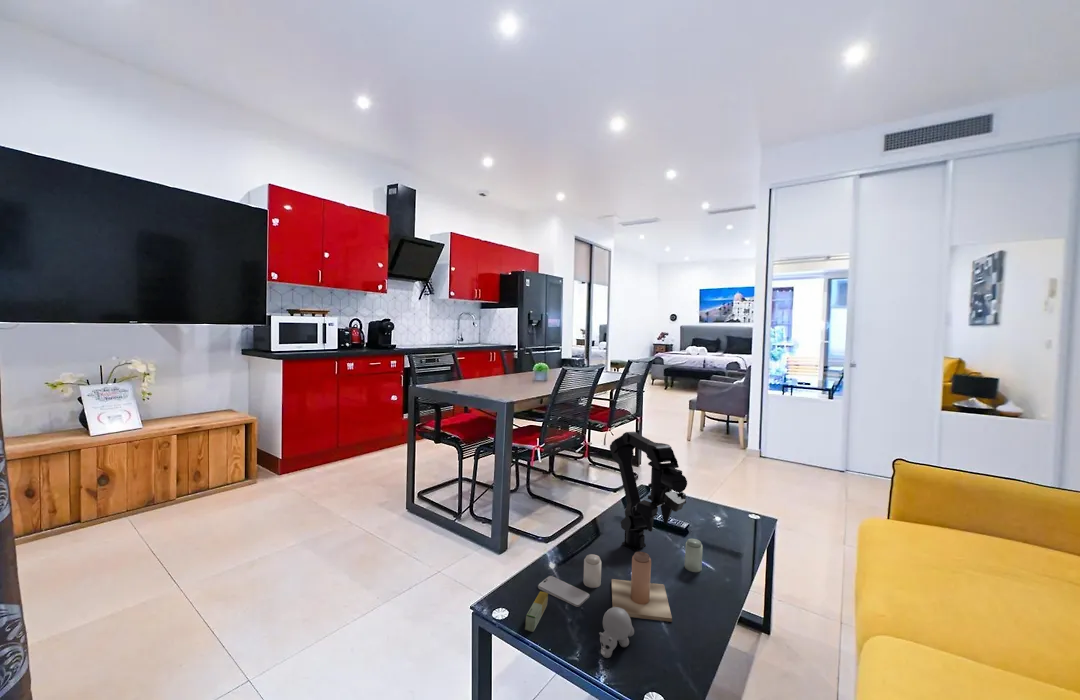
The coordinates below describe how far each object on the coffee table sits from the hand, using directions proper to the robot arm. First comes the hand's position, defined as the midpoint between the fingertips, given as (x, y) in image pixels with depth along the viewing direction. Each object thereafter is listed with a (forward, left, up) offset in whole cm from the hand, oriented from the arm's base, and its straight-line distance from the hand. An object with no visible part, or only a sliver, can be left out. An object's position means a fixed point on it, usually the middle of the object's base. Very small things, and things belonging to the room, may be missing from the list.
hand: (658, 527), depth 148 cm
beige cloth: (+8, -21, -13) cm, 26 cm away
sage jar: (+9, +8, -13) cm, 18 cm away
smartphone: (-10, -35, -14) cm, 39 cm away
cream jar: (-7, -25, -13) cm, 29 cm away
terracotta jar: (+8, -21, -12) cm, 26 cm away
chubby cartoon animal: (+15, -42, -13) cm, 46 cm away
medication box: (-6, -49, -13) cm, 51 cm away
